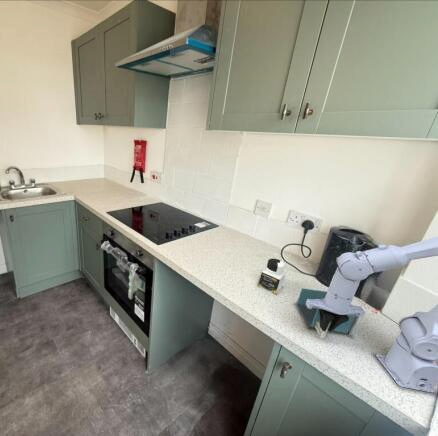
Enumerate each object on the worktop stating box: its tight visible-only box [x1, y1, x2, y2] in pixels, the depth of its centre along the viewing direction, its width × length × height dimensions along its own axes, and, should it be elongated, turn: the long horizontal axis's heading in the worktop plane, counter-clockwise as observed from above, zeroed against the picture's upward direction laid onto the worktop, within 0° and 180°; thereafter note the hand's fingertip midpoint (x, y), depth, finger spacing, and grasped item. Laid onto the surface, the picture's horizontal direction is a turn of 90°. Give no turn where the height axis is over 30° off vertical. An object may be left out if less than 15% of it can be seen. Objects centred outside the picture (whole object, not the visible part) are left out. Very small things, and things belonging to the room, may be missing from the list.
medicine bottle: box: [258, 258, 287, 294], centre depth 99 cm, size 7×7×12 cm
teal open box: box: [295, 287, 360, 337], centre depth 83 cm, size 12×12×8 cm
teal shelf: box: [311, 309, 355, 340], centre depth 76 cm, size 5×10×7 cm, turn 79°
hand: (325, 329), depth 74 cm, fingers closed on teal shelf
